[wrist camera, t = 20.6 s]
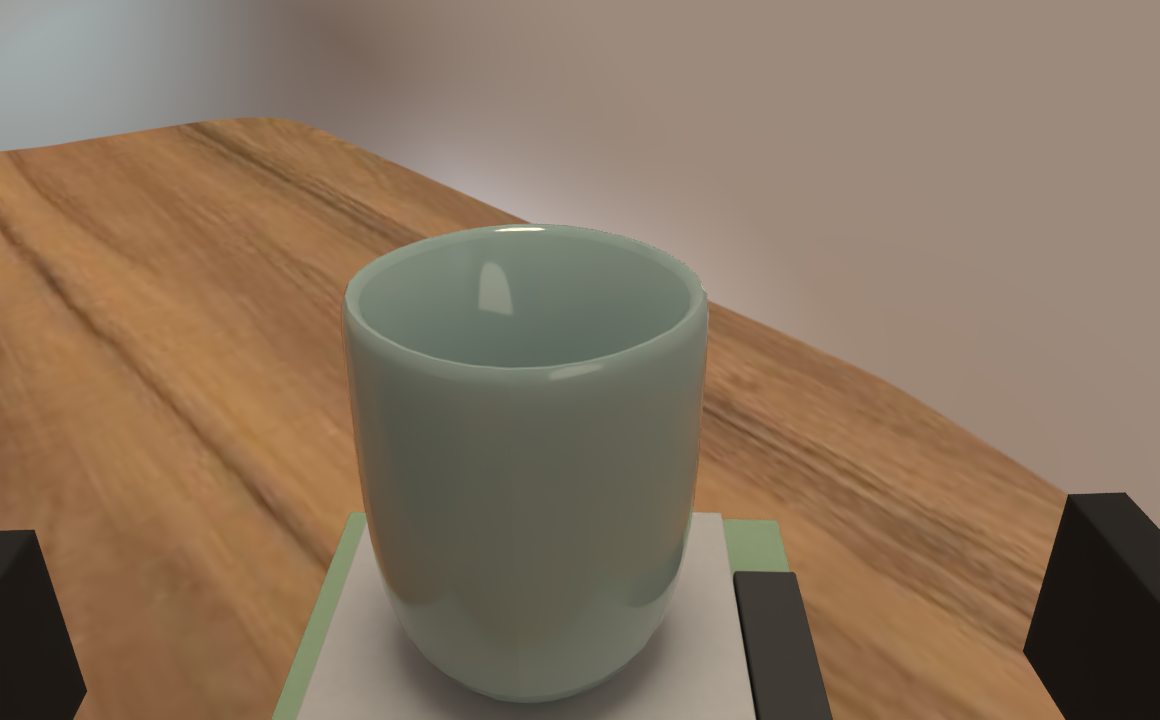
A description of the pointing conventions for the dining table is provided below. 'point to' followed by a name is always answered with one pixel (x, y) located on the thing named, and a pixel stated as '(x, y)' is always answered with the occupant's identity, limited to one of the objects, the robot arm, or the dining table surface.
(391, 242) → the dining table surface
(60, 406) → the dining table surface
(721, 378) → the dining table surface
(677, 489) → the cup
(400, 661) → the scale
